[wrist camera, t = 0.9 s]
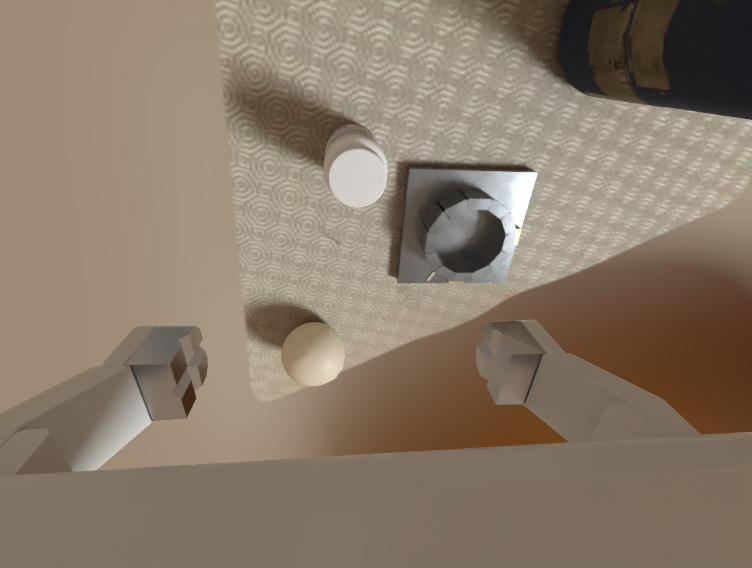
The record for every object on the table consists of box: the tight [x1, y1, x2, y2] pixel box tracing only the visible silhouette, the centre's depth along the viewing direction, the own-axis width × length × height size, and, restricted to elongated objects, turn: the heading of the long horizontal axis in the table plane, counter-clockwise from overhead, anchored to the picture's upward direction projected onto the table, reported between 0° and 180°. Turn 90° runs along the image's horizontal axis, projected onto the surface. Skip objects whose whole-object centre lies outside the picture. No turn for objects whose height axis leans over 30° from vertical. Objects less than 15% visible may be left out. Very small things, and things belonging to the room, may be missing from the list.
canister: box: [559, 0, 752, 120], centre depth 19 cm, size 10×10×18 cm
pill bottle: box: [323, 124, 388, 207], centre depth 27 cm, size 5×5×8 cm
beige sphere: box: [281, 322, 345, 386], centre depth 38 cm, size 7×7×7 cm
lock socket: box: [397, 166, 537, 284], centre depth 34 cm, size 12×12×4 cm
